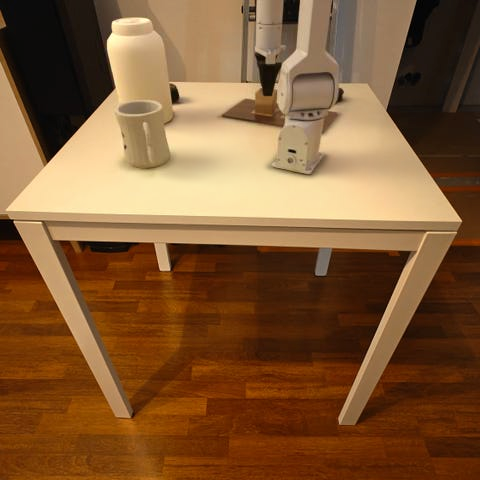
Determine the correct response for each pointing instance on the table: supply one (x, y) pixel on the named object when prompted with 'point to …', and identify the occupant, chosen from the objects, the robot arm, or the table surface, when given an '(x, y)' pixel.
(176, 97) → the tape measure
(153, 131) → the mug
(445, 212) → the table surface
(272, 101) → the wooden cube
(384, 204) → the table surface
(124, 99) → the white bottle
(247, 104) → the word mat
